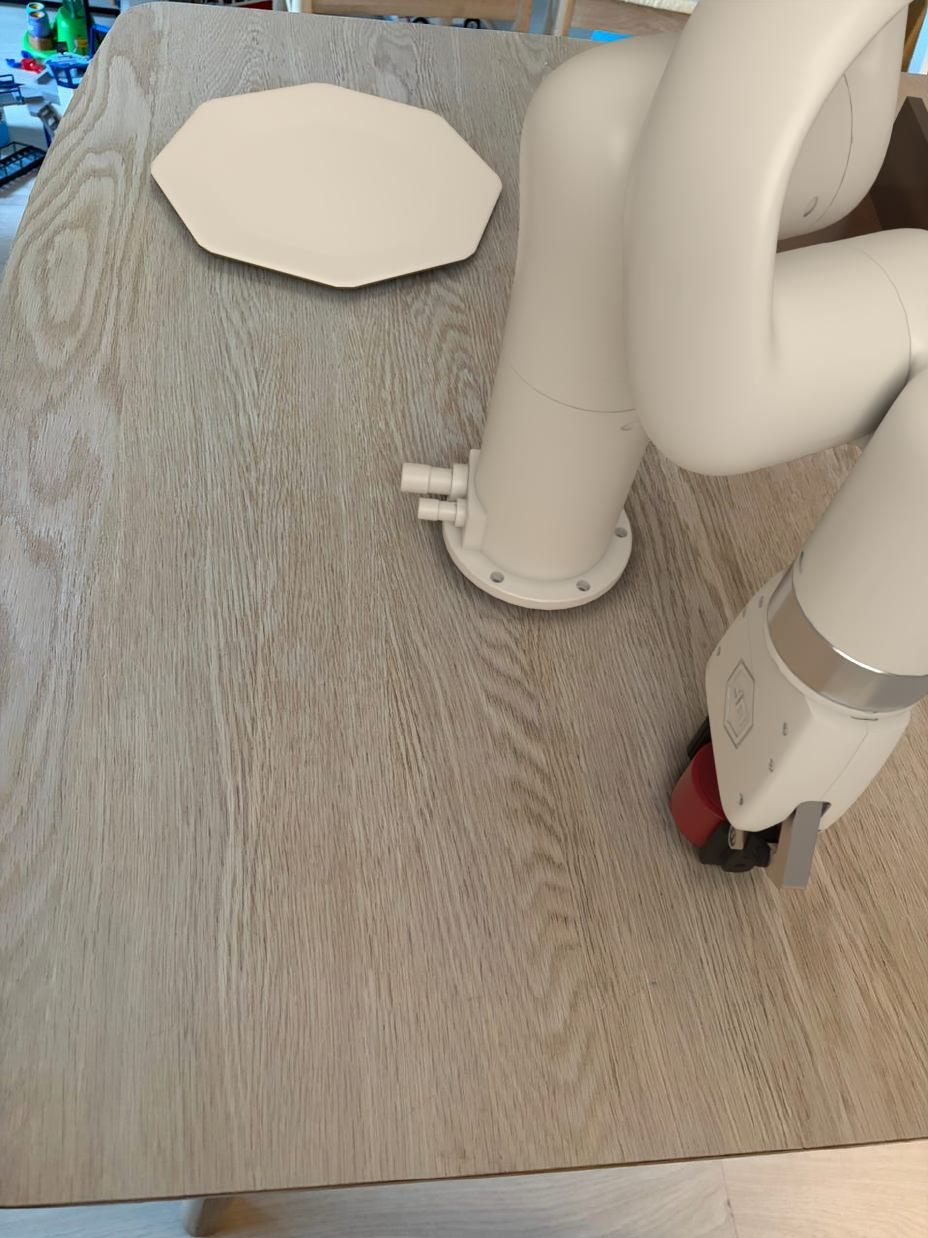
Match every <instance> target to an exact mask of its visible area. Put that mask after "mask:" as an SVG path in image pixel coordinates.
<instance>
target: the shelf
mask: <svg viewBox="0 0 928 1238" xmlns="http://www.w3.org/2000/svg"><path fill="white" fill-rule="evenodd" d="M901 228H911V229H923V230H927V231H928V109H927V106H926V104H925V102H924V100H923V98H922V97H918V96H911V95H906V97H905V99H904V101H903V103H902V105H901V107H900V109H899V111H898V113H897V115H896V116H895V118H894V123H893V128H892V132H891V137H890V142H889V145H888V148H887V152H886V155H885V158H884V161H883V164H882V166H881V169H880V171H879V173H878V175H877V177H876V180H875V181H874V183H873V185H872V186H871V188H870V190H869V191H868V193H867V194H866V196H865V197H864V198H863V199H862V200H861V202H860V203H859V204H858V205H857V206H856V207H855V208H854V209H853V210H852V211H851V212H850V213H848V214H847V215H846V216H845V217H843V218H842V219H840V220H839V221H837V222H835V223H833V224H831V225H829V226H827V227H825V228H823V229H820V230H817V231H814V232H810V233H807V234H804V235H800V236H795V237H791V238H788V239H784V240H779V241H777V249H776V253H781V252H785V251H790V250H794V249H799V248H803V247H808V246H812V245H817V244H822V243H830V242H834V241H839V240H844V239H848V238H853V237H857V236H862V235H867V234H871V233H876V232H881V231H886V230H893V229H901Z"/></svg>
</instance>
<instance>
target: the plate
mask: <svg viewBox="0 0 928 1238" xmlns="http://www.w3.org/2000/svg"><path fill="white" fill-rule="evenodd" d="M163 147H164V148H163V149H162V150H161V151H160V152H159V153H158V155H156V157H155V158H154V159H153V161H151V163H150V175H151V177H152V179H153V180H154V182H155V184H156V185H157V186H158V188H159V189H160V191H161V192H162V193H163V195H164V197H165V198H166V199H167V201H168V202H169V204H170V205H171V207H172V209H173V210H174V211H175V213H176V214H177V216H178V217H179V219H180V221H181V222H182V224H183V225H184V227H185V228H186V229H187V231H188V232H189V233H190V235H191V237H192V238H193V240H194V241H195V243H196V244H197V245H198V247H199V248H201V249H202V250H204V251H206V252H207V253H209V254H210V255H213V256H214V257H215V256H216V257H219V258H223V259H226V260H230V261H233V262H236V263H240V264H244V265H248V266H251V267H255V268H258V269H261V270H266V271H269V272H273V273H277V274H280V275H284V276H288V277H291V278H295V279H298V280H302V281H305V282H309V283H313V284H315V285H320V286H323V287H326V288H327V287H328V288H330V289H335V290H356V289H359V288H364V287H367V286H372V285H377V284H379V283H384V282H387V281H392V280H396V279H399V278H403V277H408V276H412V275H415V274H416V275H417V274H419V273H424V272H426V271H428V272H429V271H432V270H436V269H439V268H443V267H447V266H451V265H455V264H459V263H464V262H466V261H467V260H469V259H470V258H471V257H472V256H474V255H475V253H476V252H477V250H478V247H479V244H480V242H481V240H482V237H483V235H484V233H485V230H486V228H487V225H488V223H489V221H490V218H491V216H492V213H493V211H494V209H495V207H496V204H497V202H498V200H499V197H500V195H501V193H502V190H503V184H502V180H501V177H499V175H498V174H497V173H496V172H495V171H494V170H493V169H492V168H491V167H490V165H488V164H487V163H486V161H485V160H483V159H482V157H481V156H480V155H479V154H478V153H477V152H476V151H475V150H474V149H473V148H472V147H471V146H470V145H469V144H468V143H467V141H466V140H465V139H464V138H463V137H462V136H461V134H459V133H458V132H457V131H456V129H454V128H453V126H452V125H451V124H450V123H448V121H447V120H446V119H445V118H444V117H443V116H441V115H439V114H437V113H435V112H434V111H432V110H429V109H426V108H422V107H417V106H414V105H410V104H408V103H407V104H406V103H402V102H399V101H396V100H392V99H388V98H384V97H380V96H376V95H373V94H369V93H366V92H362V91H358V90H355V89H350V88H348V87H343V86H339V85H336V84H333V83H327V82H309V83H302V84H296V85H291V86H283V87H278V88H272V89H266V90H259V91H255V92H254V91H253V92H247V93H240V94H235V95H229V96H222V97H217V98H211V99H209V100H207V101H205V102H203V103H201V104H199V105H198V106H197V107H196V109H194V111H193V112H192V113H191V115H190V116H189V117H188V119H187V120H186V121H185V122H184V123H183V124H182V126H181V127H180V128H179V129H178V131H177V132H176V133H175V134H174V135H173V137H172V138H171V139H170V140H169V141H168V142H167V144H165V146H163Z"/></svg>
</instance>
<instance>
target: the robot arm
mask: <svg viewBox="0 0 928 1238" xmlns="http://www.w3.org/2000/svg"><path fill="white" fill-rule="evenodd" d="M913 1H914V0H698V2H697V3H696V5H695V6H694V9H693V10H692V12H691V14H690V15H689V17H688V19H687V21H686V23H685V25H684V26H683V29H682V30H678V31H670V32H662V33H661V32H660V33H651V34H645V35H637V36H631V37H627V38H621V39H616V40H612V41H609V42H608V41H607V42H605V43H602V44H599V45H596V46H592V47H589V48H587V49H585V50H583V51H581V52H579V53H577V54H575V55H573V56H571V57H569V58H568V59H566V60H564V62H562V63H561V64H559V65H558V66H556V68H554V69H553V70H552V71H551V72H549V74H548V75H547V76H546V77H545V78H544V79H543V80H542V82H541V83H540V84H539V85H538V86H537V88H536V90H535V92H534V93H533V95H532V97H531V99H530V101H529V103H528V105H527V109H526V110H525V111H526V112H525V115H524V119H523V123H522V128H521V136H520V141H519V161H518V162H519V163H518V164H519V219H518V221H519V223H518V224H519V225H518V241H517V252H516V261H515V269H514V276H513V282H512V287H511V294H510V299H509V304H508V309H507V314H506V320H505V323H504V324H505V325H504V329H503V336H502V343H501V347H500V353H499V358H498V362H497V367H496V373H495V377H494V382H493V387H492V391H491V397H490V401H489V406H488V411H487V416H486V421H485V426H484V430H483V435H482V439H481V443H480V444H481V445H480V448H478V449H477V448H471V449H470V450H469V454H468V458H467V459H468V460H467V463H457V462H452V464H451V468H448V467H440V466H431V464H427V463H419V462H410V461H403V462H402V469H401V478H400V487H399V488H400V489H399V492H401V493H411V494H422V495H428V494H433V495H435V494H436V495H443V496H447V498H446V500H440V499H436V498H428V497H419V498H418V502H417V514H416V519H417V520H422V521H423V520H425V521H432V522H433V521H434V522H437V521H441V529H442V531H441V533H442V538H443V542H444V545H445V548H446V550H447V552H448V554H449V556H450V559H451V560H452V562H453V563H454V564H455V565H456V567H457V568H458V570H459V571H460V572H461V573H462V574H463V576H464V577H466V578H467V579H468V580H469V581H470V582H472V583H473V585H475V586H476V587H477V588H479V589H481V590H482V591H484V592H485V593H487V594H489V595H490V596H492V597H493V598H496V599H498V600H501V601H503V602H506V603H508V604H511V605H515V606H519V607H522V608H526V609H533V610H534V609H535V610H543V611H544V610H545V611H552V610H553V611H555V610H567V609H572V608H576V607H581V606H583V605H586V604H589V603H590V602H592V601H595V600H597V599H599V598H600V597H602V596H603V595H605V594H606V593H607V592H609V591H610V590H611V589H612V588H613V587H614V586H615V585H616V583H617V582H618V581H619V580H620V579H621V577H622V575H623V573H624V572H625V569H626V567H627V565H628V562H629V559H630V557H631V553H632V548H633V533H632V526H631V522H630V520H629V517H628V515H627V512H626V510H625V508H624V506H625V504H626V501H627V499H628V496H629V493H630V491H631V489H632V486H633V483H634V481H635V478H636V475H637V473H638V470H639V468H640V465H641V462H642V460H643V458H644V455H645V452H646V451H647V448H648V444H649V442H651V443H652V444H653V445H654V446H655V448H656V449H657V450H658V451H659V452H660V453H661V455H662V456H663V457H664V458H666V459H667V460H668V461H670V462H672V463H673V464H675V465H676V466H677V467H679V468H681V469H683V470H686V471H689V472H692V473H694V474H698V475H701V476H709V477H710V476H712V477H731V476H738V475H743V474H747V473H751V472H753V471H758V470H762V469H767V468H769V467H770V468H771V467H774V466H777V465H780V464H784V463H787V462H791V461H795V460H798V459H801V458H804V457H807V456H811V455H813V454H817V453H820V452H823V451H826V450H830V449H833V448H836V447H839V446H842V445H850V446H855V447H857V448H859V449H860V450H861V453H860V454H859V456H858V458H857V459H856V461H855V463H854V464H853V466H852V467H851V469H850V471H849V472H848V474H847V475H846V477H845V479H844V480H843V482H842V483H841V484H840V486H839V488H838V489H837V491H836V492H835V494H834V496H833V497H832V499H831V500H830V502H829V504H828V505H827V506H826V508H825V510H824V512H823V513H822V515H821V516H820V518H819V519H818V521H817V523H815V526H813V529H812V530H811V532H810V533H809V536H808V537H807V538H806V540H805V542H804V543H803V545H802V546H801V548H800V549H799V551H798V552H797V554H796V556H795V557H794V559H793V561H792V562H791V563H790V564H787V565H786V566H785V567H783V568H782V569H781V570H779V571H778V572H777V573H775V574H774V575H773V576H772V577H771V578H770V579H769V580H767V582H765V583H764V585H763V584H762V586H761V587H760V588H759V590H757V592H755V594H754V595H753V596H752V597H751V598H750V599H749V601H748V602H747V603H746V604H745V606H744V607H743V608H742V610H740V612H739V614H738V615H737V616H736V617H735V619H734V620H733V621H732V623H731V625H730V626H729V627H728V628H727V630H726V632H725V633H724V634H723V636H722V638H721V639H720V640H719V642H718V644H716V646H715V649H714V650H713V652H712V653H711V655H710V656H709V659H708V661H707V663H706V667H705V678H704V679H705V681H704V682H705V683H704V684H705V695H706V703H707V704H706V706H707V711H708V712H707V713H708V715H706V717H705V718H704V720H703V721H702V723H701V724H700V726H699V727H698V729H697V730H696V731H695V733H694V735H693V737H691V740H690V741H689V743H688V744H687V745H686V755H687V758H689V759H690V760H691V761H692V760H693V758H694V757H695V755H696V754H697V752H698V751H699V750H700V749H701V748H702V747H703V746H705V745H706V744H708V743H710V742H712V744H713V751H714V759H715V766H716V773H717V779H718V786H719V792H720V798H721V803H722V807H723V810H724V813H725V815H726V817H727V819H728V820H729V822H730V823H722V824H721V825H720V826H719V827H718V828H717V829H716V831H715V832H714V833H713V834H712V836H711V837H710V838H709V839H708V840H707V842H706V843H705V844H704V845H703V847H702V848H700V850H699V851H698V859H699V860H698V861H699V863H700V864H702V865H715V866H721V870H722V871H723V872H727V873H738V874H742V873H747V872H750V871H751V870H752V869H753V868H755V867H757V868H763V869H764V870H765V874H766V876H767V877H768V878H769V879H770V881H771V882H772V884H773V885H774V886H775V887H776V889H778V890H794V891H805V890H806V889H807V887H808V883H809V878H810V874H811V868H812V863H813V858H814V855H815V854H814V853H815V848H816V843H817V838H818V835H819V834H821V833H823V832H824V831H826V830H827V829H828V828H830V827H831V826H832V825H833V824H834V823H836V821H838V820H839V819H840V818H841V817H842V816H843V815H844V814H845V813H846V812H847V811H848V810H849V809H850V808H851V807H852V806H853V805H854V804H855V802H856V801H857V800H858V799H859V798H860V796H861V795H862V794H863V793H864V792H865V790H867V788H868V787H869V785H870V784H871V783H872V782H873V780H874V779H875V777H876V776H877V775H878V773H880V770H881V769H882V768H883V766H884V765H885V763H887V760H888V759H889V757H890V756H891V754H892V753H893V752H894V749H895V748H896V747H897V745H898V743H899V741H900V739H901V738H902V737H903V735H904V732H905V731H906V728H907V727H908V725H909V724H910V722H911V716H912V715H911V714H912V709H913V708H914V707H915V706H916V705H918V704H919V703H920V702H921V701H922V700H923V699H924V698H925V696H927V695H928V231H927V230H923V229H911V228H901V229H893V230H886V231H881V232H876V233H871V234H867V235H862V236H857V237H853V238H848V239H844V240H839V241H834V242H830V243H822V244H817V245H812V246H808V247H803V248H799V249H794V250H790V251H785V252H781V253H776V249H777V241H779V240H784V239H788V238H791V237H795V236H800V235H804V234H807V233H810V232H814V231H817V230H820V229H823V228H825V227H827V226H829V225H831V224H833V223H835V222H837V221H839V220H840V219H842V218H843V217H845V216H846V215H847V214H848V213H850V212H851V211H852V210H853V209H854V208H855V207H856V206H857V205H858V204H859V203H860V202H861V200H862V199H863V198H864V197H865V196H866V194H867V193H868V191H869V190H870V188H871V186H872V185H873V183H874V181H875V180H876V177H877V175H878V173H879V171H880V169H881V166H882V164H883V161H884V158H885V155H886V152H887V148H888V145H889V142H890V137H891V132H892V128H893V123H894V121H895V119H896V111H897V105H898V98H899V90H900V89H899V88H900V81H901V74H902V64H903V57H904V48H905V39H906V30H907V23H908V14H909V6H910V4H911V3H912V2H913Z"/></svg>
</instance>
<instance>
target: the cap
mask: <svg viewBox="0 0 928 1238" xmlns="http://www.w3.org/2000/svg"><path fill="white" fill-rule="evenodd" d="M670 810H671V814H672V817H673V820H674V822H675V824H676V826H677V828H678V829H679V830H680V832H681V833H682V835H684V837H685V838H686V839H688V841H690V842H691V843H692V844H694V845H695V846H697V847H698V848H699V849H701V848H702V847H703V845H704V844H705V843H706V842H707V840H708V839H709V838H710V837H711V836H712V834H713V833H714V832H715V831H716V829H717V828H718V827H719V826H720V825H721V824H722V823H730V822H729V820H728V819H727V817H726V815H725V813H724V810H723V807H722V803H721V798H720V792H719V786H718V779H717V773H716V766H715V759H714V751H713V744H712V742H710V743H708V744H706V745H705V746H703V747H702V748H701V749H700V750H699V751H698V752H697V754H696V755H695V757H694V758H693V760H691V762H689V764H688V766H687V767H686V769H685V770H684V771H683V773H682V775H681V776H680V778H679V779H678V780H677V782H676V783H675V785H674V788H673V789H672V791H671V796H670Z"/></svg>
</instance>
